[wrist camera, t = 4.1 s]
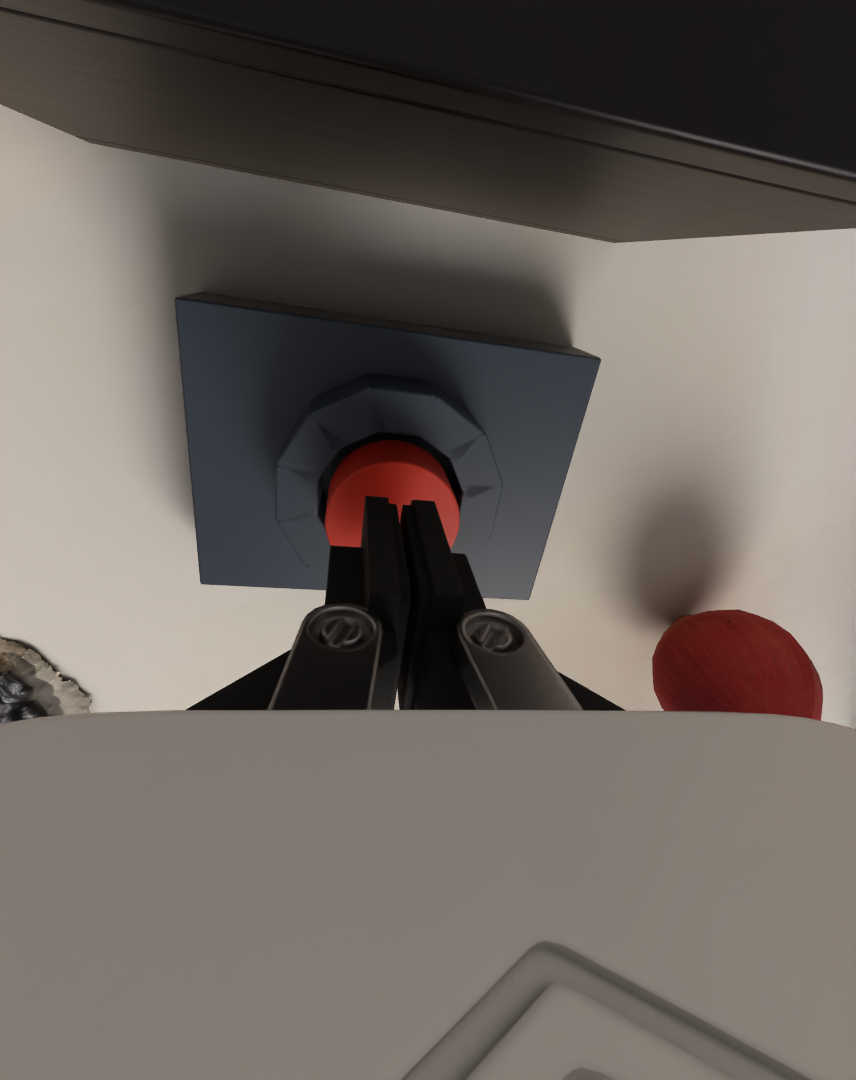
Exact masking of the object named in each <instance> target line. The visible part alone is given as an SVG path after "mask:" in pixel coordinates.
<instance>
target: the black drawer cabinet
mask: <svg viewBox="0 0 856 1080" xmlns="http://www.w3.org/2000/svg"><path fill="white" fill-rule="evenodd" d="M0 104H1V105H4V106H6V107H8V108H11V109H13V110H15V111H18V112H20V113H22V114H25V115H27V116H29V117H31V118H34V119H36V120H38V121H41V122H43V123H45V124H48V125H50V126H52V127H55V128H57V129H59V130H62V131H64V132H66V133H69V134H71V135H74V136H76V137H78V138H80V139H83V140H85V141H87V142H90V143H93V144H99V145H104V146H109V147H114V148H120V149H125V150H130V151H135V152H141V153H146V154H151V155H156V156H162V157H167V158H172V159H177V160H183V161H188V162H193V163H198V164H204V165H209V166H214V167H219V168H224V169H230V170H235V171H240V172H245V173H251V174H256V175H261V176H266V177H272V178H277V179H282V180H287V181H293V182H298V183H303V184H308V185H314V186H319V187H324V188H329V189H335V190H340V191H345V192H350V193H356V194H361V195H366V196H371V197H377V198H382V199H387V200H392V201H398V202H403V203H408V204H413V205H419V206H424V207H429V208H434V209H440V210H445V211H450V212H455V213H461V214H466V215H471V216H476V217H481V218H487V219H492V220H497V221H502V222H508V223H513V224H518V225H523V226H529V227H534V228H539V229H544V230H550V231H555V232H560V233H565V234H571V235H576V236H581V237H586V238H592V239H597V240H602V241H607V242H613V243H619V242H636V241H653V240H669V239H685V238H701V237H718V236H734V235H750V234H766V233H782V232H799V231H815V230H831V229H847V228H856V0H0Z"/></svg>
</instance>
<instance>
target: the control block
mask: <svg viewBox="0 0 856 1080" xmlns="http://www.w3.org/2000/svg"><path fill="white" fill-rule="evenodd" d="M175 309H176V320H177V331H178V342H179V353H180V364H181V375H182V386H183V397H184V408H185V419H186V430H187V441H188V452H189V463H190V474H191V484H192V495H193V506H194V517H195V528H196V539H197V550H198V561H199V572H200V582H201V584H208V585H228V586H249V587H270V588H291V589H312V590H326V588H327V577H328V566H329V555H330V546H331V545H330V543H329V541H328V538H327V535H326V529H325V515H326V507H327V499H328V492H329V485H330V482H331V478H332V476H333V474H334V472H335V470H336V468H337V467H338V465H339V464H340V463H341V462H342V460H343V459H344V458H345V457H347V456H348V455H349V454H350V453H351V452H353V451H354V450H356V449H357V448H359V447H361V446H363V445H366V444H369V443H371V442H376V441H380V440H399V441H405V442H409V443H412V444H415V445H417V446H419V447H421V448H423V449H424V450H426V451H427V452H429V453H430V454H431V455H432V456H433V457H434V458H435V459H436V460H437V461H438V462H439V463H440V465H441V466H442V468H443V469H444V471H445V473H446V476H447V478H448V480H449V483H450V485H451V488H452V490H453V493H454V495H455V498H456V501H457V504H458V508H459V513H460V523H459V530H458V533H457V537H456V539H455V542H454V544H453V546H452V547H451V549H450V550H451V553H461V554H465V555H466V556H467V559H468V561H469V564H470V567H471V569H472V572H473V575H474V577H475V580H476V583H477V585H478V588H479V591H480V593H481V596H482V598H499V599H519V600H529V598H530V595H531V592H532V588H533V585H534V582H535V578H536V575H537V572H538V568H539V565H540V562H541V558H542V555H543V552H544V548H545V545H546V542H547V538H548V535H549V532H550V528H551V525H552V522H553V518H554V515H555V512H556V508H557V505H558V502H559V498H560V495H561V492H562V488H563V485H564V482H565V479H566V475H567V472H568V469H569V465H570V462H571V459H572V455H573V452H574V449H575V445H576V442H577V439H578V435H579V432H580V429H581V425H582V422H583V419H584V415H585V412H586V409H587V405H588V402H589V399H590V395H591V392H592V389H593V385H594V382H595V379H596V375H597V372H598V369H599V365H600V362H601V359H600V358H599V357H596V356H594V355H592V354H589V353H587V352H584V351H582V350H579V349H577V348H575V347H569V346H563V345H556V344H549V343H542V342H535V341H529V340H522V339H515V338H508V337H502V336H495V335H488V334H481V333H474V332H468V331H461V330H454V329H447V328H440V327H434V326H427V325H420V324H413V323H406V322H400V321H393V320H386V319H379V318H372V317H366V316H359V315H352V314H345V313H338V312H332V311H325V310H318V309H311V308H304V307H298V306H291V305H284V304H277V303H270V302H264V301H257V300H250V299H243V298H236V297H230V296H223V295H216V294H209V293H202V292H198V293H193V294H188V295H183V296H179V297H175Z"/></svg>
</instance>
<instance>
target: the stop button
mask: <svg viewBox="0 0 856 1080" xmlns="http://www.w3.org/2000/svg"><path fill="white" fill-rule="evenodd" d="M365 496H376V497H388V499H389V503H390V504H397V509H398V515H399V521H400V519H401V511H402V506H403V505H410V504H411V501H412V500H425V501H434V502H435V504H436V507H437V510H438V513H439V516H440V519H441V522H442V525H443V528H444V531H445V534H446V537H447V541H448V544H449V547H450V549H451V547H452V546H453V544H454V542H455V539H456V537H457V533H458V530H459V523H460V513H459V508H458V504H457V501H456V498H455V495H454V493H453V490H452V488H451V485H450V483H449V480H448V478H447V476H446V473H445V471H444V469H443V468H442V466H441V465H440V463H439V462H438V461H437V460H436V459H435V458H434V457H433V456H432V455H431V454H430V453H429V452H427V451H426V450H424V449H423V448H421V447H419V446H417V445H415V444H412V443H409V442H405V441H399V440H380V441H376V442H371V443H369V444H366V445H363V446H361V447H359V448H357V449H356V450H354V451H353V452H351V453H350V454H349V455H348V456H347V457H345V458H344V459H343V460H342V462H341V463H340V464H339V465H338V467H337V468H336V470H335V472H334V474H333V476H332V478H331V482H330V485H329V492H328V499H327V507H326V515H325V529H326V535H327V538H328V541H329V543H330V545H333V546H349V547H361V536H362V525H363V514H364V504H365Z"/></svg>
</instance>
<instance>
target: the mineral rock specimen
mask: <svg viewBox="0 0 856 1080" xmlns="http://www.w3.org/2000/svg"><path fill="white" fill-rule="evenodd" d="M23 645H24V644H23ZM23 645H21V643H16V642H14V641H6V639H5V640H2V639H0V724H2V723H8V722H14V721H20V720H26V719H32V718H38V717H49V716H59V715H70V714H81V713H90V712H89V705H91V703H92V699H89V697H86V694H84V693H82V692H81V690H80V691H79V690H78V689H79V687H78V684H73V682H71V680H69V681H61V680H62V677H59V676H58V675H60V674H61V673H60V671H58V672H55V671H53V670H52V667H51V666H48V663H45V661H43V660H41V657H40V655H39V654H37V653H35V652H34V651H33V650H31V649H27V650H25V648H23Z"/></svg>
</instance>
